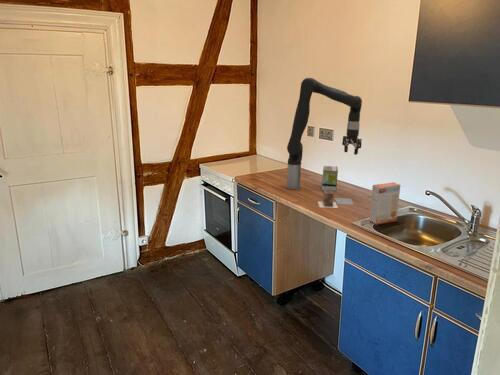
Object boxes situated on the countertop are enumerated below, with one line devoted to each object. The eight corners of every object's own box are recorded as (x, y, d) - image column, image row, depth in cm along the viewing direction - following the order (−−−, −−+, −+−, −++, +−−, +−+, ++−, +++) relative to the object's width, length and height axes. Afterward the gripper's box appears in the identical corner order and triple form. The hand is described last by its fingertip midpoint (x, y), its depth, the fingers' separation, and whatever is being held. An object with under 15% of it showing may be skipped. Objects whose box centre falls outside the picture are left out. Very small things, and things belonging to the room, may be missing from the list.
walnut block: (324, 206, 227) (325, 193, 225) (322, 202, 234) (323, 190, 232) (332, 206, 227) (333, 193, 225) (331, 202, 234) (331, 190, 232)
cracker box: (389, 217, 210) (393, 181, 204) (396, 221, 204) (401, 184, 198) (368, 221, 205) (372, 184, 199) (375, 225, 199) (379, 187, 193)
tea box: (336, 191, 257) (338, 170, 253) (321, 191, 259) (322, 170, 255) (336, 185, 271) (337, 165, 267) (322, 185, 273) (323, 165, 269)
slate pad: (337, 204, 231) (337, 204, 231) (334, 198, 242) (334, 198, 242) (354, 205, 230) (354, 204, 230) (350, 198, 242) (350, 198, 242)
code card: (319, 207, 226) (319, 207, 226) (317, 201, 236) (317, 201, 236) (338, 207, 225) (338, 207, 225) (335, 202, 236) (335, 201, 236)
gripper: (340, 127, 244) (338, 151, 248) (357, 130, 232) (354, 155, 237) (349, 126, 247) (346, 150, 252) (365, 129, 236) (363, 154, 240)
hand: (350, 153), depth 244 cm, fingers open, 8 cm apart
